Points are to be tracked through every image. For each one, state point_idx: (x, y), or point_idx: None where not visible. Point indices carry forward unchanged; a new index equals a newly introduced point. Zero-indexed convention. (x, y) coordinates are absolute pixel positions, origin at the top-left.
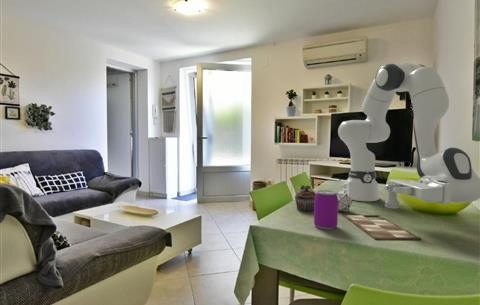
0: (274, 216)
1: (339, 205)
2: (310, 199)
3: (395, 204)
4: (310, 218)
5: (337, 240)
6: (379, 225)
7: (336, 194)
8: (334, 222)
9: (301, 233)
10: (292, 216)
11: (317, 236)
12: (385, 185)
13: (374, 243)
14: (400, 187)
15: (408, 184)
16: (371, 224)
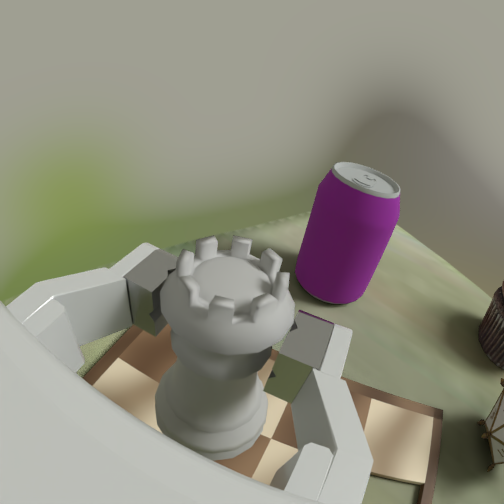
0: (423, 250)
1: (496, 404)
2: (499, 304)
3: (164, 375)
4: (411, 300)
5: (217, 236)
6: (260, 441)
7: (350, 191)
8: (299, 262)
9: (292, 219)
10: (427, 276)
11: (261, 226)
12: (343, 327)
13: None
14: (111, 276)
15: (31, 356)
16: (288, 421)
